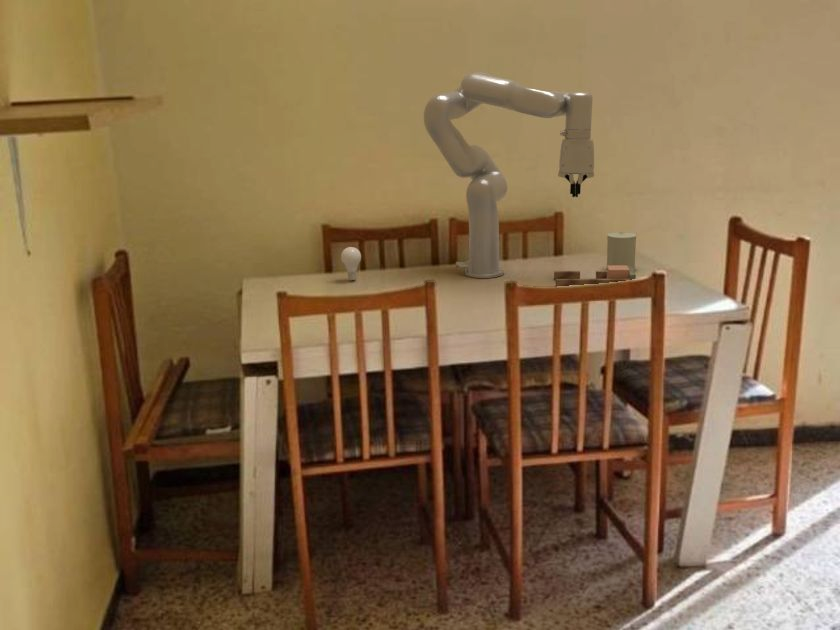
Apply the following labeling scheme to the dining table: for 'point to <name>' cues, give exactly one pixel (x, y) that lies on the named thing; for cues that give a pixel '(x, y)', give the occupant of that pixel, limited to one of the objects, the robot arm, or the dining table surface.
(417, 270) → the dining table surface
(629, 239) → the can
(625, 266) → the block
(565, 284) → the channel
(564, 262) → the dining table surface
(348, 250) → the lightbulb
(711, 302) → the dining table surface
